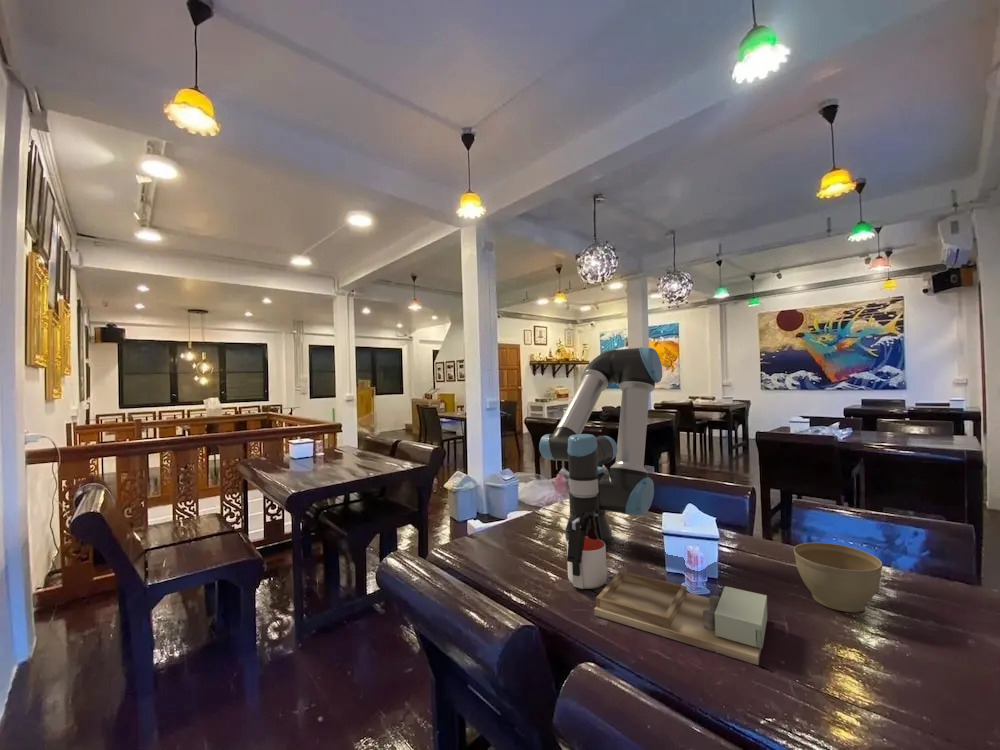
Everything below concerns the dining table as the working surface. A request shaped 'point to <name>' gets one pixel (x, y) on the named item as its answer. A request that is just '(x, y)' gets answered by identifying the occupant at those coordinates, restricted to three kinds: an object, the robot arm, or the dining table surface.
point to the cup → (592, 563)
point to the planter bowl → (838, 574)
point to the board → (668, 613)
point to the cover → (741, 616)
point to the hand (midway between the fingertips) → (587, 578)
